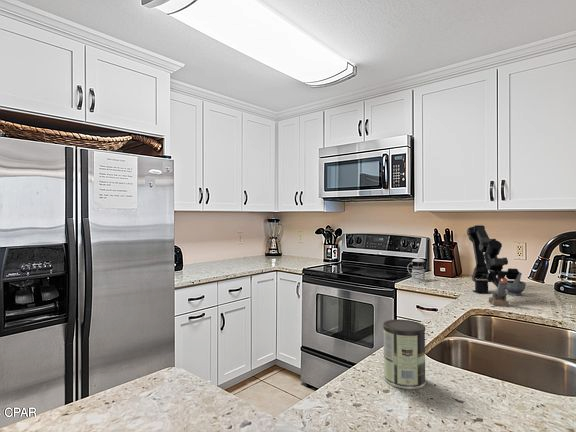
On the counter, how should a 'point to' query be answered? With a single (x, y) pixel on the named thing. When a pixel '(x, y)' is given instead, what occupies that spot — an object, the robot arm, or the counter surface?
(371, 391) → the counter surface
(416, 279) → the french press
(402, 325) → the coffee can
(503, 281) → the nutcracker lever
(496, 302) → the stand
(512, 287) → the mortar and pestle
